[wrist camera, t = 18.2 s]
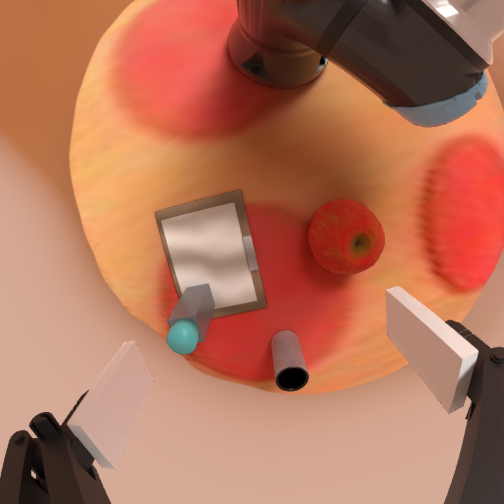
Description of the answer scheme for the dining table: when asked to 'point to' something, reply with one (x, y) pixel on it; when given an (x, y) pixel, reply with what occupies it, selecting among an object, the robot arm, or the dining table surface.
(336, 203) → the apple
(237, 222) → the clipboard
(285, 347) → the grey hollow cylinder
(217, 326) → the dining table surface
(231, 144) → the dining table surface
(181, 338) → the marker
